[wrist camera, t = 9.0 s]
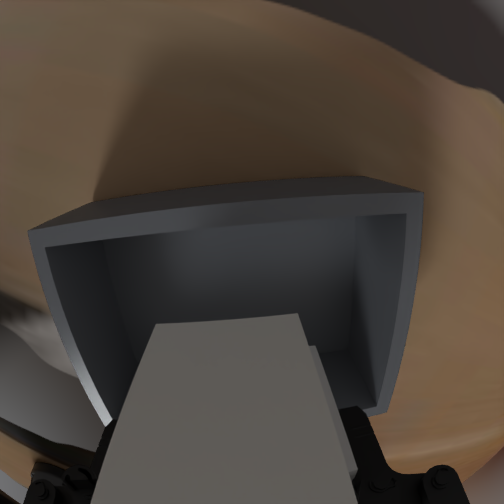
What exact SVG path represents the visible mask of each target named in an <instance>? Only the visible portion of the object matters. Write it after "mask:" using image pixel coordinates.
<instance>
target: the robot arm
mask: <svg viewBox="0 0 504 504" xmlns="http://www.w3.org/2000/svg"><path fill="white" fill-rule="evenodd" d="M309 348H310V351H311V355H312V358H313V361H314V364H315V367H316V370H317V373H318V376H319V379H320V382H321V385H322V388H323V391H324V395H325V398H326V401H327V404H328V407H329V410H330V413H331V417H332V420H333V423H334V426H335V429H336V433H337V436H338V439H339V442H340V446H341V449H342V452H343V455H344V459H345V462H346V465H347V469H348V472H349V475H350V479H351V482H352V486H353V489H354V492H355V496H356V499H357V503H358V504H470V503H469V500H468V498H467V495H466V493H465V491H464V488H463V486H462V483H461V481H460V479H459V476H458V474H457V473H456V471H455V470H454V469H453V468H452V467H450V466H447V465H437V466H434V467H432V468H430V469H429V470H428V471H427V472H426V473H420V474H401V473H397V472H395V471H394V470H392V469H391V468H390V467H389V466H388V464H387V463H386V460H385V458H384V455H383V453H382V450H381V448H380V446H379V443H378V441H377V438H376V436H375V434H374V431H373V429H372V426H371V425H370V422H369V419H368V417H367V414H366V413H365V412H364V411H363V410H362V409H361V408H359V407H358V406H352V407H348V408H342V409H338V408H337V406H336V403H335V400H334V397H333V394H332V391H331V388H330V385H329V383H328V380H327V377H326V374H325V371H324V368H323V366H322V363H321V360H320V357H319V354H318V352H317V349H316V346H315V345H314V346H309ZM117 421H118V419H112V421H111V422H110V423H109V424H108V425H107V426H106V427H105V429H104V432H103V434H102V439H101V440H100V442H99V447H98V448H97V450H96V453H95V456H94V459H93V461H92V464H91V467H90V468H88V467H86V466H83V465H75V466H72V467H70V468H68V469H67V470H66V471H64V470H62V469H60V468H58V467H55V466H52V465H49V464H46V463H35V465H34V467H33V469H32V471H31V477H32V478H31V485H30V486H29V488H28V491H27V494H26V497H25V500H24V503H23V504H90V503H91V500H92V497H93V493H94V490H95V487H96V484H97V480H98V477H99V474H100V471H101V468H102V465H103V462H104V459H105V456H106V453H107V450H108V447H109V444H110V441H111V438H112V435H113V433H114V430H115V427H116V424H117ZM0 504H20V503H19V502H17V501H16V500H14V499H13V498H11V497H10V496H9V495H7V494H6V493H4V492H3V491H2V490H0Z"/></svg>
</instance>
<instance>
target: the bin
mask: <svg viewBox="0 0 504 504" xmlns="http://www.w3.org/2000/svg"><path fill="white" fill-rule="evenodd" d="M423 200H424V192H421V191H417V190H414V189H410V188H407V187H403V186H400V185H396V184H392V183H389V182H385V181H381V180H377V179H373V178H369V177H365V176H343V177H317V178H298V179H281V180H267V181H254V182H243V183H232V184H221V185H211V186H202V187H193V188H185V189H177V190H169V191H161V192H154V193H147V194H140V195H133V196H127V197H120V198H114V199H108V200H102V201H96V202H91V203H88V204H86V205H83V206H81V207H79V208H76V209H74V210H72V211H69V212H67V213H65V214H62V215H60V216H58V217H56V218H54V219H51V220H49V221H47V222H45V223H43V224H41V225H39V226H37V227H35V228H32V229H30V230H28V231H27V232H28V236H29V240H30V245H31V249H32V253H33V257H34V260H35V264H36V268H37V271H38V275H39V278H40V281H41V284H42V288H43V291H44V294H45V297H46V300H47V303H48V306H49V309H50V311H51V314H52V317H53V319H54V322H55V325H56V327H57V330H58V332H59V335H60V337H61V340H62V342H63V345H64V347H65V349H66V352H67V354H68V356H69V358H70V361H71V363H72V365H73V367H74V369H75V371H76V373H77V375H78V378H79V380H80V382H81V383H82V386H83V387H84V389H85V391H86V393H87V395H88V397H89V399H90V401H91V402H92V404H93V406H94V408H95V410H96V412H97V413H98V415H99V417H100V419H101V420H102V422H103V423H104V425H105V427H106V426H107V425H108V424H109V423H110V422H111V421H112V419H119V416H120V413H121V410H122V408H123V405H124V402H125V400H126V397H127V394H128V392H129V389H130V387H131V384H132V381H133V379H134V376H135V374H136V371H137V369H138V366H139V364H140V361H141V359H142V356H143V354H144V351H145V349H146V346H147V344H148V342H149V339H150V337H151V334H152V332H153V330H154V327H155V325H156V324H165V323H186V322H203V321H218V320H231V319H243V318H255V317H266V316H276V315H285V314H294V313H298V316H299V319H300V322H301V324H302V327H303V330H304V333H305V336H306V339H307V342H308V345H309V346H314V345H315V346H316V349H317V352H318V354H319V357H320V360H321V363H322V366H323V368H324V371H325V374H326V377H327V380H328V383H329V385H330V388H331V391H332V394H333V397H334V400H335V403H336V406H337V408H338V409H342V408H348V407H352V406H358V407H359V408H361V409H362V410H363V411H364V412H365V413H366V414H367V417H370V416H374V415H378V414H382V413H385V412H387V410H388V407H389V404H390V400H391V397H392V394H393V390H394V387H395V383H396V380H397V376H398V372H399V368H400V364H401V360H402V356H403V352H404V347H405V343H406V338H407V334H408V329H409V324H410V318H411V313H412V307H413V301H414V295H415V288H416V281H417V274H418V266H419V257H420V247H421V236H422V221H423Z"/></svg>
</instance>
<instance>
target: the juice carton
mask: <svg viewBox="0 0 504 504" xmlns="http://www.w3.org/2000/svg"><path fill="white" fill-rule="evenodd" d="M90 504H358V503H357V499H356V496H355V492H354V489H353V486H352V482H351V479H350V475H349V472H348V469H347V465H346V462H345V459H344V455H343V452H342V449H341V446H340V442H339V439H338V436H337V433H336V429H335V426H334V423H333V420H332V417H331V413H330V410H329V407H328V404H327V401H326V398H325V395H324V391H323V388H322V385H321V382H320V379H319V376H318V373H317V370H316V367H315V364H314V361H313V358H312V355H311V351H310V348H309V345H308V342H307V339H306V336H305V333H304V330H303V327H302V324H301V322H300V319H299V316H298V313H294V314H285V315H276V316H266V317H255V318H243V319H231V320H218V321H203V322H186V323H165V324H156V325H155V327H154V330H153V332H152V334H151V337H150V339H149V342H148V344H147V346H146V349H145V351H144V354H143V356H142V359H141V361H140V364H139V366H138V369H137V371H136V374H135V376H134V379H133V381H132V384H131V387H130V389H129V392H128V394H127V397H126V400H125V402H124V405H123V408H122V410H121V413H120V416H119V419H118V421H117V424H116V427H115V430H114V433H113V435H112V438H111V441H110V444H109V447H108V450H107V453H106V456H105V459H104V462H103V465H102V468H101V471H100V474H99V477H98V480H97V484H96V487H95V490H94V493H93V497H92V500H91V503H90Z"/></svg>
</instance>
